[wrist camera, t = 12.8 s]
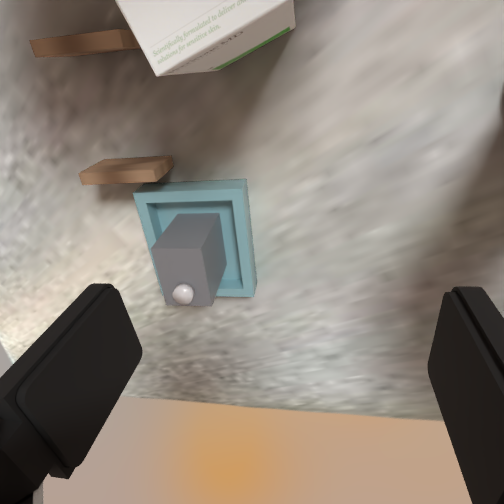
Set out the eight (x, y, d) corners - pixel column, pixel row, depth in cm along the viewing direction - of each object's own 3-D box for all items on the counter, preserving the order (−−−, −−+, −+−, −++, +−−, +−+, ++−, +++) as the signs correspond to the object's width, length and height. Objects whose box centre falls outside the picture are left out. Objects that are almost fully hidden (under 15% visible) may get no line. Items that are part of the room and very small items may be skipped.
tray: (246, 179, 36) (242, 188, 33) (256, 282, 43) (254, 296, 40) (144, 183, 38) (132, 193, 35) (170, 281, 45) (162, 295, 42)
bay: (145, 32, 30) (118, 28, 26) (173, 166, 36) (156, 181, 32) (66, 41, 31) (29, 40, 27) (107, 169, 37) (82, 185, 33)
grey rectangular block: (219, 212, 37) (197, 254, 30) (227, 264, 41) (209, 312, 33) (177, 213, 38) (146, 254, 30) (188, 263, 42) (163, 311, 34)
